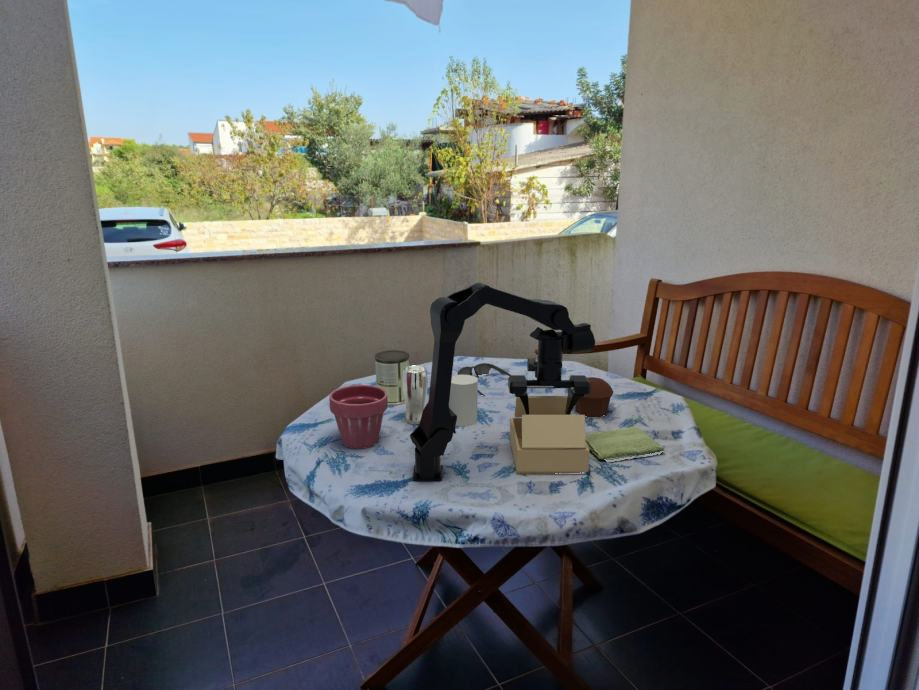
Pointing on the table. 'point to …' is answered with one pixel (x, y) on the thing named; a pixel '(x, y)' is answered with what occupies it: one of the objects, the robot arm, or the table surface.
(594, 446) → the washcloth
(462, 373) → the sunglasses
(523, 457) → the carton
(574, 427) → the near flap
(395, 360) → the coffee can
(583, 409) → the muffin
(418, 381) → the silver metal cylinder
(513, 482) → the table surface
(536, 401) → the far flap
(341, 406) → the plant pot
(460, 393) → the off-white closed cylinder
